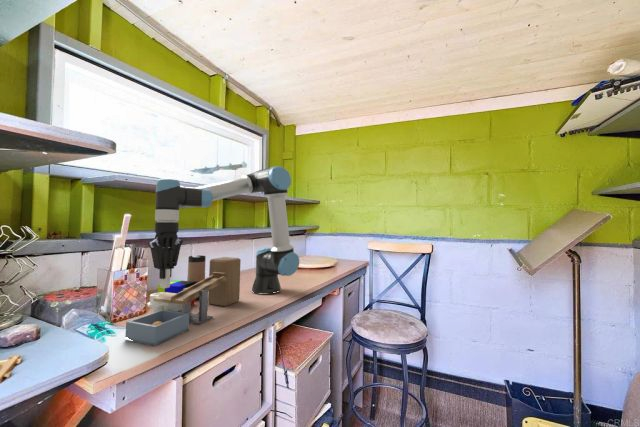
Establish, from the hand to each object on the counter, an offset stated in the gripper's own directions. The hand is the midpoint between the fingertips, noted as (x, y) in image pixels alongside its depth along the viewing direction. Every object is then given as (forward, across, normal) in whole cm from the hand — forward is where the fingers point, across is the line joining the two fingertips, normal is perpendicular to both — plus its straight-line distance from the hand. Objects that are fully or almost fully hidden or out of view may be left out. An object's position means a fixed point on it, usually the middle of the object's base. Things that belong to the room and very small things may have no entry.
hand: (165, 287), depth 96 cm
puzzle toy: (+13, -16, -11) cm, 23 cm away
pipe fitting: (+13, -5, -9) cm, 16 cm away
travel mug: (+13, -29, -13) cm, 34 cm away
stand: (+13, -6, +8) cm, 16 cm away
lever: (+3, -9, +4) cm, 10 cm away
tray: (+12, +9, +8) cm, 17 cm away
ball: (+10, +10, +8) cm, 16 cm away
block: (+13, -28, +4) cm, 31 cm away
